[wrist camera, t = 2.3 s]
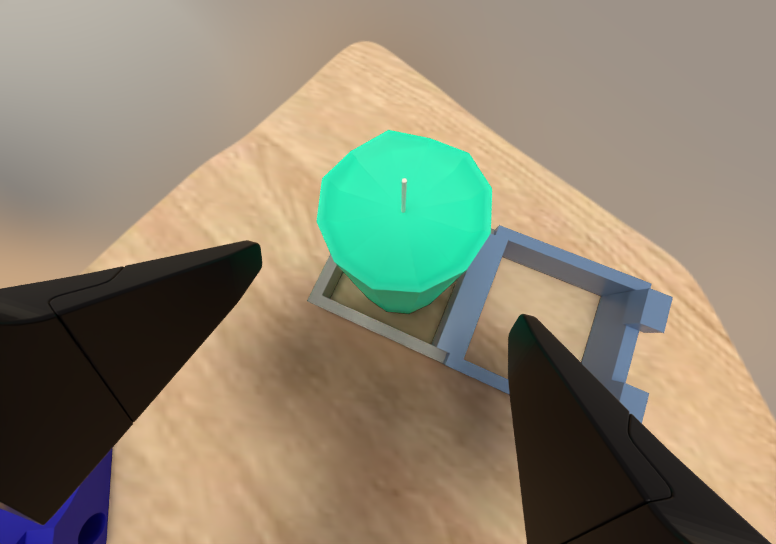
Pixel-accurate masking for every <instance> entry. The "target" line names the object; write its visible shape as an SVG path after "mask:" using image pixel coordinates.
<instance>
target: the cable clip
mask: <svg viewBox="0 0 776 544" xmlns="http://www.w3.org/2000/svg"><path fill="white" fill-rule="evenodd" d="M111 463H112V449H111V450H110V451H109V452H108V453H107V455H106V456H105V457H104V458H103V459H102V460H101V462H100V463H99V464H98V465H97V466H96V467H95V468H94V470H93V471H92V472H91V473H90V474H89V475H88V477H87V478H86V479H85V480H84V481H83V482H82V483H81V485H80V486H79V487H78V488H77V489H76V490H75V492H74V493H73V494H72V495H71V496H70V497H69V499H68V500H67V501H66V502H65V503H64V504H63V505H62V507H61V508H60V509H59V510H58V511H57V512H56V513H55V515H54V516H53V517H52V518H51V519H50V520H49V521H48V522H47V523H46V524H45V525H40V524H38V523H35V522H33V521H30V520H28V519H25V518H23V517H20V516H18V515H15V514H13V513H10V512H8V511H5V510H3V509H0V544H106V540H107V524H108V509H109V494H110V478H111Z"/></svg>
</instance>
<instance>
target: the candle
mask: <svg viewBox="0 0 776 544" xmlns="http://www.w3.org/2000/svg"><path fill="white" fill-rule="evenodd" d="M491 210H492V188H491V186H490V184H489V183H488V181H487V180H486V178H485V177H484V175H483V174H482V172H481V171H480V169H479V168H478V166H477V164H476V163H475V161H474V160H473V158H472V157H471V155H470V154H469V153H467V152H465V151H462V150H460V149H457V148H454V147H452V146H449V145H447V144H444V143H441V142H439V141H436V140H433V139H431V138H426V137H421V136H416V135H411V134H406V133H401V132H396V131H391V130H387V131H386V132H384V133H382V134H380V135H379V136H377V137H375V138H373V139H372V140H370V141H368V142H366V143H364V144H363V145H361V146H359V147H357V148H356V149H354V150H352V151H350V152H349V153H348V154H347V155H346V156H345V157H344V158H343V159H342V160H341V161H340V162H339V163H338V164H337V165H336V166H335V167H334V168H333V169H332V170H331V171H329V172H328V173H327V174H326V175H325V176H324V177H323V178H322V183H321V191H320V199H319V206H318V214H317V224H318V226H319V228H320V231H321V233H322V235H323V238H324V240H325V242H326V244H327V247H328V249H329V251H330V254H331V256H332V258H333V261H334V262H335V263H336V264H337V266H338V267H339V268H340V269H341V270H342V271H343V272H344V273H345V274H346V275H347V276H348V277H349V278H350V280H351V281H352V282H353V283H354V284H355V285H356V286H357V287H358V288H359V289H360V290H361V291H362V292H363V293H364V295H365V296H366V297H367V298H368V299H369V300H371V301H372V302H374V303H375V304H376V305H378V306H379V307H381V308H382V309H384V310H385V311H386V312H395V313H406V314H410V313H412V312H414V311H416V310H418V309H421V308H423V307H425V306H427V305H429V304H431V303H432V302H433V301H434V300H435V299H436V298H437V297H438V296H439V295H440V294H441V293H442V292H444V291H445V290H446V289H447V288H448V287H449V286H450V285H451V284H452V283H453V282H454V281H455V280H457V279H458V278H459V277H460V276H461V275H462V274H463V273H464V272H465V271H466V270H467V269H468V267H469V266H470V264H471V263H472V261H473V260H474V258H475V257H476V255H477V253H478V252H479V250H480V249H481V247H482V246H483V244H484V243H485V241H486V240H487V238H488V237H489V235H490V234H491Z"/></svg>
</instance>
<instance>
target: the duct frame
mask: <svg viewBox="0 0 776 544" xmlns="http://www.w3.org/2000/svg"><path fill="white" fill-rule="evenodd" d="M502 257H504V258H507V259H509V260H512V261H514V262H517V263H519V264H522V265H524V266H527V267H529V268H532V269H535V270H537V271H540V272H542V273H545V274H547V275H550V276H552V277H555V278H557V279H560V280H562V281H565V282H567V283H570V284H572V285H575V286H577V287H580V288H582V289H585V290H587V291H590V292H592V293H595V294H597V295H600V296H601V298H600V302H599V305H598V309H597V312H596V315H595V319H594V322H593V325H592V329H591V332H590V336H589V339H588V342H587V346H586V349H585V352H584V356H583V359H582V364H583V365H584V366H585V367H586V368H587V369H588V370H589V371H590V372H591V373H592V374H593V375H594V376H595V377H596V378H597V379H598V380H599V381H600V382H601V383H602V384H603V385H604V386H605V387H606V388H607V389H608V390H609V391H610V392H611V393H612V394H613V395H614V396H615V397H616V398H617V399H618V400H619V401H620V402H621V403H622V404H623V405H624V406H625V407H626V408H627V409H628V410H629V412H630V414H633V415H634V416H635V417H636V418H637V419H638V420H639V421H640V422H641V423H642V420H643V416H644V412H645V408H646V404H647V400H648V396H649V393H647V392H645V391H642V390H640V389H638V388H635V387H633V386H631V385H628V384H626V379H627V375H628V371H629V367H630V364H631V360H632V356H633V352H634V348H635V345H636V341H637V337H638V333H639V331H641V332H643V333H664V331H665V326H666V322H667V318H668V314H669V310H670V306H671V302H672V298H673V297H671V296H668V295H666V294H663V293H661V292H658V291H655V290H653V289H650V287H651V283H648V282H646V281H643V280H641V279H638V278H635V277H633V276H630V275H628V274H625V273H622V272H620V271H617V270H615V269H612V268H609V267H607V266H604V265H601V264H599V263H596V262H594V261H591V260H588V259H586V258H583V257H581V256H578V255H575V254H573V253H570V252H568V251H565V250H562V249H560V248H557V247H555V246H552V245H549V244H547V243H544V242H542V241H539V240H536V239H534V238H531V237H529V236H526V235H523V234H521V233H518V232H516V231H513V230H510V229H508V228H505V227H503V226H500V225H499V226H498V227H497V228H496V229H495V230H494V229H491V234H490V235H489V237H488V238H487V240H486V241H485V243H484V244H483V246H482V247H481V249H480V250H479V252H478V253H477V255H476V257H475V258H474V260H473V261H472V263H471V264H470V266H469V267H468V269H467V270H466V271H465V272H464V273H463V274H462V275H461V276H460V277H459V278H458V279H457V282H456V284H455V287H454V289H453V292H452V294H451V297H450V299H449V302H448V304H447V307H446V309H445V312H444V314H443V317H442V319H441V321H440V324H439V326H438V329H437V331H436V334H435V336H434V339H433V341H432V344H428V343H426V342H424V341H422V340H419V339H417V338H415V337H413V336H411V335H408V334H406V333H404V332H402V331H400V330H397V329H395V328H393V327H391V326H389V325H386V324H384V323H382V322H380V321H377V320H375V319H373V318H371V317H369V316H366V315H364V314H362V313H360V312H358V311H355V310H353V309H351V308H349V307H347V306H344V305H342V304H340V303H338V302H335V301H333V300H331V299H330V297H331V295H332V293H333V291H334V289H335V287H336V285H337V283H338V281H339V279H340V277H341V275H342V272H343V271H342V270H341V269H340V268H339V267H338V266H337V264H336V263H335V262H334V261H333V258H332V256H331V254H330V256H329V258H328V260H327V262H326V264H325V266H324V268H323V270H322V272H321V274H320V276H319V278H318V280H317V282H316V284H315V286H314V288H313V290H312V292H311V294H310V296H309V298H308V300H307V301H308V302H310V303H312V304H314V305H317V306H319V307H321V308H323V309H325V310H328V311H330V312H332V313H334V314H336V315H338V316H341V317H343V318H345V319H347V320H349V321H351V322H354V323H356V324H358V325H360V326H362V327H365V328H367V329H369V330H371V331H373V332H375V333H378V334H380V335H382V336H384V337H386V338H389V339H391V340H393V341H395V342H397V343H399V344H402V345H404V346H406V347H408V348H410V349H413V350H415V351H417V352H419V353H421V354H423V355H426V356H428V357H430V358H432V359H434V360H437V361H439V362H441V363H443V364H444V365H446V366H448V367H450V368H453V369H455V370H457V371H459V372H461V373H464V374H466V375H468V376H470V377H472V378H474V379H477V380H479V381H481V382H483V383H485V384H488V385H490V386H492V387H494V388H496V389H498V390H501V391H503V392H505V393H507V394H509V395H510V393H509V384H508V379H506V378H504V377H501V376H499V375H497V374H495V373H493V372H490V371H488V370H486V369H484V368H481V367H479V366H477V365H475V364H473V363H470V362H468V361H466V360H464V357H465V354H466V351H467V349H468V346H469V343H470V341H471V338H472V335H473V333H474V330H475V327H476V325H477V322H478V319H479V317H480V314H481V311H482V309H483V306H484V303H485V301H486V298H487V295H488V293H489V290H490V287H491V285H492V282H493V279H494V277H495V274H496V271H497V269H498V266H499V263H500V261H501V258H502Z"/></svg>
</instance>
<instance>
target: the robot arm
mask: <svg viewBox="0 0 776 544" xmlns="http://www.w3.org/2000/svg"><path fill="white" fill-rule="evenodd" d="M261 268H262V256H261V247H260V245H259V244H258V243H256V242H252V241H248V240H246V241H241V242H236V243H232V244H227V245H222V246H217V247H213V248H208V249H203V250H198V251H194V252H189V253H184V254H179V255H175V256H170V257H165V258H160V259H156V260H151V261H146V262H141V263H137V264H132V265H127V266H125V267H117V268H113V269H108V270H103V271H98V272H93V273H88V274H83V275H77V276H72V277H66V278H61V279H55V280H49V281H43V282H37V283H31V284H25V285H19V286H14V287H8V288H2V289H0V509H3V510H5V511H8V512H10V513H13V514H15V515H18V516H20V517H23V518H25V519H28V520H30V521H33V522H35V523H38V524H40V525H45V524H46V523H47V522H48V521H49V520H50V519H51V518H52V517H53V516H54V515H55V513H56V512H57V511H58V510H59V509H60V508H61V507H62V505H63V504H64V503H65V502H66V501H67V500H68V499H69V497H70V496H71V495H72V494H73V493H74V492H75V490H76V489H77V488H78V487H79V486H80V485H81V483H82V482H83V481H84V480H85V479H86V478H87V477H88V475H89V474H90V473H91V472H92V471H93V470H94V468H95V467H96V466H97V465H98V464H99V463H100V462H101V460H102V459H103V458H104V457H105V456H106V455H107V453H108V452H109V451H110V450H111V449H112V448H113V446H114V445H115V444H116V443H117V442H118V441H119V440H120V438H121V437H122V436H123V435H124V434H125V433H126V431H127V430H128V429H129V428H130V427H131V426H132V425H133V422H135V421H136V420H137V419H138V417H139V416H140V415H141V414H142V413H143V412H144V410H145V409H146V408H147V407H148V406H149V405H150V403H151V402H152V401H153V400H154V399H155V398H156V397H157V395H158V394H159V393H160V392H161V391H162V390H163V388H164V387H165V386H166V385H167V384H168V383H169V382H170V380H171V379H172V378H173V377H174V376H175V375H176V373H177V372H178V371H179V370H180V369H181V368H182V367H183V365H184V364H185V363H186V362H187V361H188V360H189V358H190V357H191V356H192V355H193V354H194V353H195V352H196V350H197V349H198V348H199V347H200V346H201V345H202V343H203V342H204V341H205V340H206V339H207V338H208V337H209V335H210V334H211V333H212V332H213V331H214V330H215V328H216V327H217V326H218V325H219V324H220V323H221V321H222V320H223V319H224V318H225V317H226V316H227V315H228V313H229V312H230V311H231V310H232V309H233V308H234V306H235V305H236V304H237V303H238V301H239V300H240V299H241V297H242V296H243V295H244V293H245V292H246V290H247V289H248V287H249V286H250V284H251V283H252V282H253V280H254V279H255V277H256V276H257V274H258V273H259V271H260V270H261ZM508 384H509V393H510V402H511V411H512V419H513V428H514V436H515V445H516V453H517V462H518V470H519V479H520V487H521V496H522V504H523V513H524V521H525V530H526V539H527V544H771V543H770V542H769V541H768V540H767V539H766V538H764V537H763V536H762V535H761V534H760V533H759V532H758V531H757V530H756V529H755V528H753V527H752V526H751V525H750V524H749V523H748V522H747V521H746V520H745V519H744V518H743V517H741V516H740V515H739V514H738V513H737V512H736V511H735V510H734V509H733V508H732V507H730V506H729V505H728V504H727V503H726V502H725V501H724V500H723V499H722V498H721V497H719V496H718V495H717V494H716V493H715V492H714V491H713V490H712V489H711V488H710V487H708V486H707V485H706V484H705V483H704V482H703V481H702V480H701V479H700V478H699V477H697V476H696V475H695V474H694V473H693V472H692V471H691V470H690V469H689V468H688V467H687V466H686V465H684V464H683V463H682V462H681V461H680V460H679V459H678V458H677V457H676V456H675V455H674V454H673V453H671V452H670V451H669V450H668V449H667V448H666V447H665V446H664V445H663V444H662V443H661V442H660V441H659V440H658V439H657V438H656V437H655V436H654V435H653V434H652V433H651V432H650V431H649V430H648V429H647V428H646V427H645V426H644V425H643V424H642V423H641V422H640V421H639V420H638V419H637V418H636V417H635V416H634V415H633V414H630V412H629V410H628V409H627V408H626V407H625V406H624V405H623V404H622V403H621V402H620V401H619V400H618V399H617V398H616V397H615V396H614V395H613V394H612V393H611V392H610V391H609V390H608V389H607V388H606V387H605V386H604V385H603V384H602V383H601V382H600V381H599V380H598V379H597V378H596V377H595V376H594V375H593V374H592V373H591V372H590V371H589V370H588V369H587V368H586V367H585V366H584V365H583V364H582V363H581V362H580V361H579V360H578V359H577V358H576V357H575V356H574V355H573V354H572V353H571V352H570V351H569V350H568V349H567V348H566V347H565V346H564V345H563V344H562V343H561V342H560V341H559V340H558V339H557V338H556V337H555V336H554V335H553V334H552V333H551V332H550V331H549V330H548V329H547V328H546V327H545V326H544V325H543V324H542V323H541V322H540V321H539V320H538V319H537V318H536V317H534V316H530V315H526V314H521V315H520V316H519V317H518V319H517V320H516V322H515V324H514V325H513V327H512V329H511V330H510V333H509V337H508Z"/></svg>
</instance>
